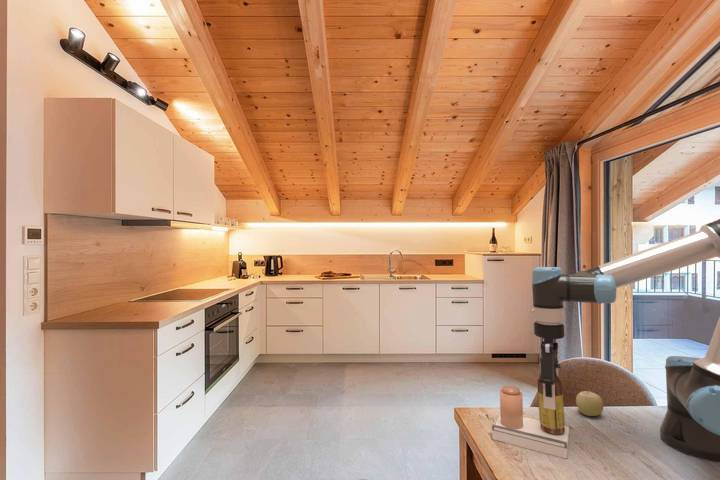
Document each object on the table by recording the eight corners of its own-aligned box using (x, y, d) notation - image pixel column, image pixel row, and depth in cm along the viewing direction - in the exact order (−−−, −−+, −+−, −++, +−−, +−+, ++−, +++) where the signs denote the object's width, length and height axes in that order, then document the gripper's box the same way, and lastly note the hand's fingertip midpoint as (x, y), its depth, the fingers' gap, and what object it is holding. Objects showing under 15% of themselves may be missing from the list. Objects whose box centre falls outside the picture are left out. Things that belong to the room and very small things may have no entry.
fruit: (606, 421, 108) (605, 395, 108) (578, 417, 111) (577, 391, 111) (600, 411, 115) (599, 386, 115) (574, 407, 118) (573, 383, 118)
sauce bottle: (560, 425, 101) (558, 355, 102) (568, 436, 95) (566, 361, 96) (535, 423, 102) (533, 354, 103) (542, 434, 96) (540, 360, 97)
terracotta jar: (524, 422, 103) (523, 387, 104) (521, 431, 98) (520, 394, 98) (502, 417, 106) (502, 383, 107) (498, 425, 101) (497, 390, 102)
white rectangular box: (569, 435, 100) (568, 422, 100) (567, 459, 89) (566, 444, 89) (501, 420, 110) (501, 408, 110) (492, 439, 99) (492, 425, 99)
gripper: (538, 314, 112) (541, 382, 111) (527, 329, 91) (531, 413, 90) (566, 316, 108) (569, 386, 107) (561, 332, 87) (564, 420, 86)
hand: (551, 399), depth 99 cm, fingers open, 13 cm apart
